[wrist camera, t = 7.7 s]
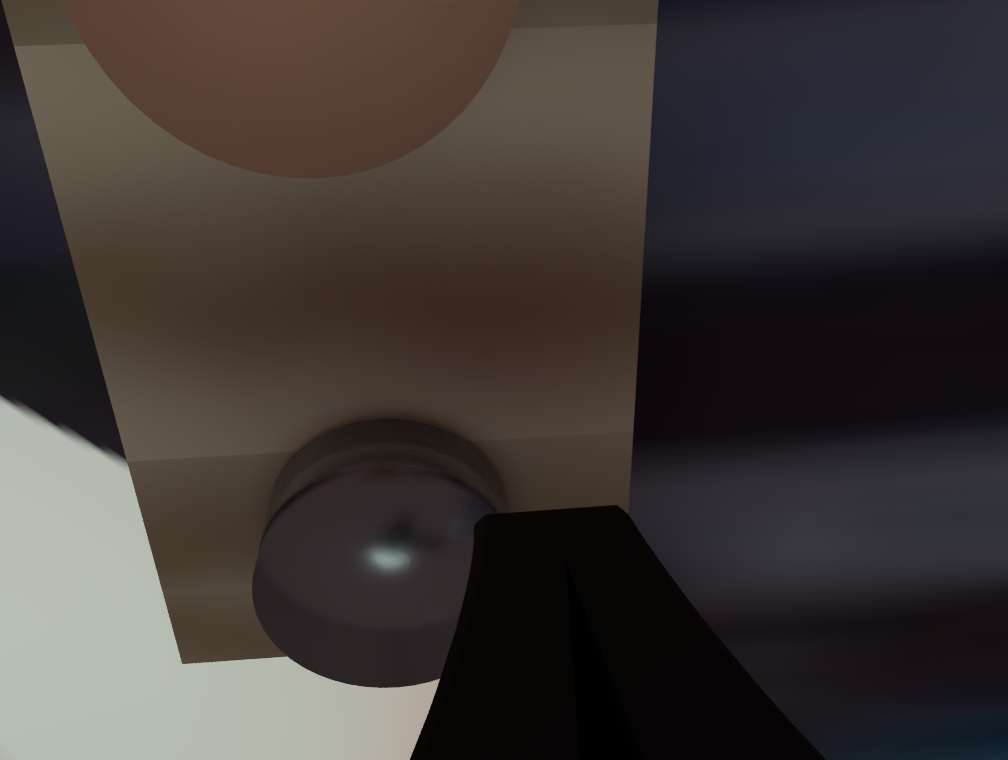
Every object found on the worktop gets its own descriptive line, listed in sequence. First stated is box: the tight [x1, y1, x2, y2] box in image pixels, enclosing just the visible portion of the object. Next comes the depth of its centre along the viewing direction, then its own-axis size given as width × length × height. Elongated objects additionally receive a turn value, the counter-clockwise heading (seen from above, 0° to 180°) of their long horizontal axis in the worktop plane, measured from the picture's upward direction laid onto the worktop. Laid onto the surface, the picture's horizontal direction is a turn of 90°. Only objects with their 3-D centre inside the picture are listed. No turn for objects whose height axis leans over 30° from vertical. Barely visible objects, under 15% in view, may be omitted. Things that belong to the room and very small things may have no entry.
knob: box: [252, 419, 510, 688], centre depth 17 cm, size 4×4×4 cm
